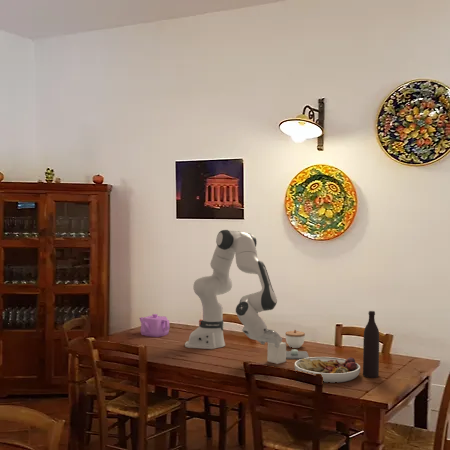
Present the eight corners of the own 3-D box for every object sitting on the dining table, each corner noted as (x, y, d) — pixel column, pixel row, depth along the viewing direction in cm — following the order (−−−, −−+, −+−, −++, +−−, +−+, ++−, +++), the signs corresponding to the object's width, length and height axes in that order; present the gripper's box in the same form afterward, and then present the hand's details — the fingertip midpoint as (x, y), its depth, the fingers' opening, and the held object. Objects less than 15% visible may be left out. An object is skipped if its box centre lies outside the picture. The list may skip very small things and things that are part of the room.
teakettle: (170, 336, 361) (170, 316, 360) (142, 338, 357) (142, 317, 356) (166, 331, 377) (166, 311, 377) (139, 332, 373) (139, 312, 373)
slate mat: (282, 358, 310) (282, 353, 310) (280, 352, 324) (280, 346, 324) (309, 359, 309) (309, 353, 309) (306, 352, 323) (306, 347, 323)
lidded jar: (298, 349, 330) (298, 332, 330) (281, 347, 336) (281, 330, 336) (308, 346, 338) (308, 329, 338) (291, 343, 345) (291, 327, 345)
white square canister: (277, 363, 300) (277, 342, 300) (267, 361, 305) (267, 340, 304) (285, 361, 305) (286, 340, 304) (276, 359, 309) (276, 338, 309)
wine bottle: (376, 373, 283) (377, 310, 282) (380, 378, 276) (381, 312, 275) (361, 373, 283) (362, 310, 282) (365, 378, 276) (366, 312, 275)
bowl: (310, 387, 263) (310, 369, 262) (284, 369, 292) (285, 352, 291) (372, 382, 271) (372, 364, 270) (341, 365, 300) (342, 349, 299)
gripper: (276, 325, 288) (289, 343, 295) (245, 320, 303) (258, 336, 310) (270, 336, 285) (283, 353, 292) (239, 330, 300) (252, 346, 307)
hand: (270, 345), depth 301 cm, fingers open, 8 cm apart
